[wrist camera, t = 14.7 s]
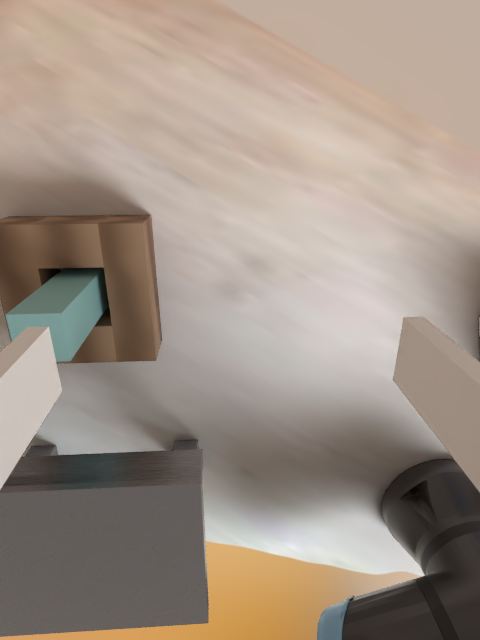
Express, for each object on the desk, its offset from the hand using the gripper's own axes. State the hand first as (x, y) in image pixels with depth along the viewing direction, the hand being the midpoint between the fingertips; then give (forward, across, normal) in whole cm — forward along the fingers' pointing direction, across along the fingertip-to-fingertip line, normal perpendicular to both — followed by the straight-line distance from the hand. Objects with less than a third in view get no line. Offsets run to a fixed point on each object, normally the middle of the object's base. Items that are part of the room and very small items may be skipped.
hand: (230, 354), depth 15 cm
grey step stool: (+29, +14, +23) cm, 39 cm away
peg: (+29, +14, +6) cm, 32 cm away
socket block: (+29, +14, +6) cm, 32 cm away
